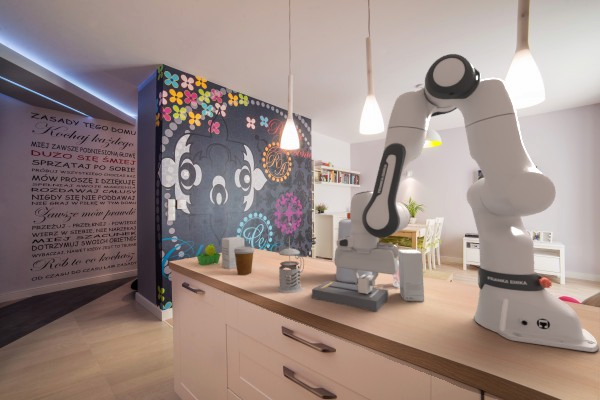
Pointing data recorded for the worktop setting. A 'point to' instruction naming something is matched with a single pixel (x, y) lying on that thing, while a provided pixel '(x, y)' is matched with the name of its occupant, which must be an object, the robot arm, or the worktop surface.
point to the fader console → (350, 295)
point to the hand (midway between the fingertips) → (365, 284)
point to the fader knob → (364, 284)
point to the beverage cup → (396, 277)
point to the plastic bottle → (343, 232)
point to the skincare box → (411, 275)
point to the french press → (289, 272)
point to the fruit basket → (208, 256)
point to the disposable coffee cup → (244, 259)
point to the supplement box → (230, 251)
